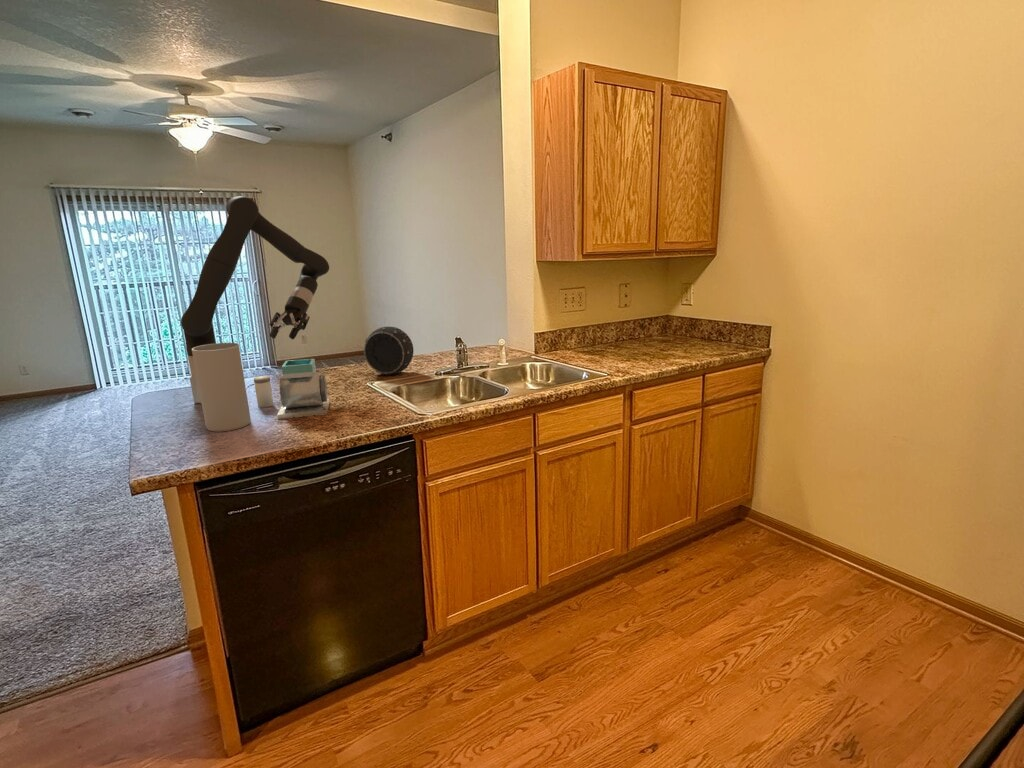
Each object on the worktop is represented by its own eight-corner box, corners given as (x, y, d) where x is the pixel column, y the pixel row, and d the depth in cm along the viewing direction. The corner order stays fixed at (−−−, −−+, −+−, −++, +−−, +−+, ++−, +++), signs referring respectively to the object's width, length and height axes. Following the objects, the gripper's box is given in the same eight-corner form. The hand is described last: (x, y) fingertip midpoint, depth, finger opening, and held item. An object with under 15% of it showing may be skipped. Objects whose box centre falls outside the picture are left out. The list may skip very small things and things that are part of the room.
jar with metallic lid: (256, 408, 186) (252, 380, 184) (259, 404, 191) (255, 376, 188) (272, 406, 187) (268, 378, 185) (274, 402, 192) (270, 375, 189)
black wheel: (408, 377, 222) (404, 329, 217) (363, 376, 226) (358, 328, 221) (417, 371, 232) (414, 325, 227) (374, 370, 236) (370, 324, 231)
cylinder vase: (235, 417, 177) (222, 341, 171) (259, 422, 171) (247, 344, 164) (197, 428, 167) (182, 348, 160) (222, 435, 160) (207, 352, 154)
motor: (277, 419, 174) (270, 369, 169) (284, 406, 187) (277, 359, 183) (326, 414, 177) (320, 365, 173) (329, 402, 190) (324, 356, 186)
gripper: (277, 295, 201) (259, 331, 193) (309, 295, 196) (291, 332, 189) (289, 307, 207) (272, 343, 199) (320, 308, 202) (303, 344, 195)
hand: (281, 337), depth 194 cm, fingers open, 8 cm apart
